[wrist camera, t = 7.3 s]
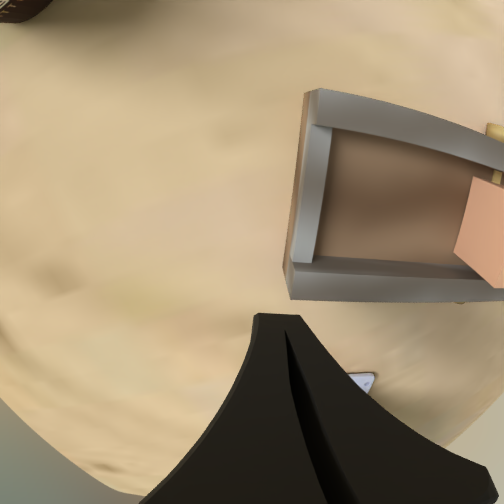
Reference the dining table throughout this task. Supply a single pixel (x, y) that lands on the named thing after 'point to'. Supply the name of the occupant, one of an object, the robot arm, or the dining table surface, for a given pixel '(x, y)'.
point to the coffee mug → (20, 9)
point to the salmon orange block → (484, 231)
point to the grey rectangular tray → (384, 203)
